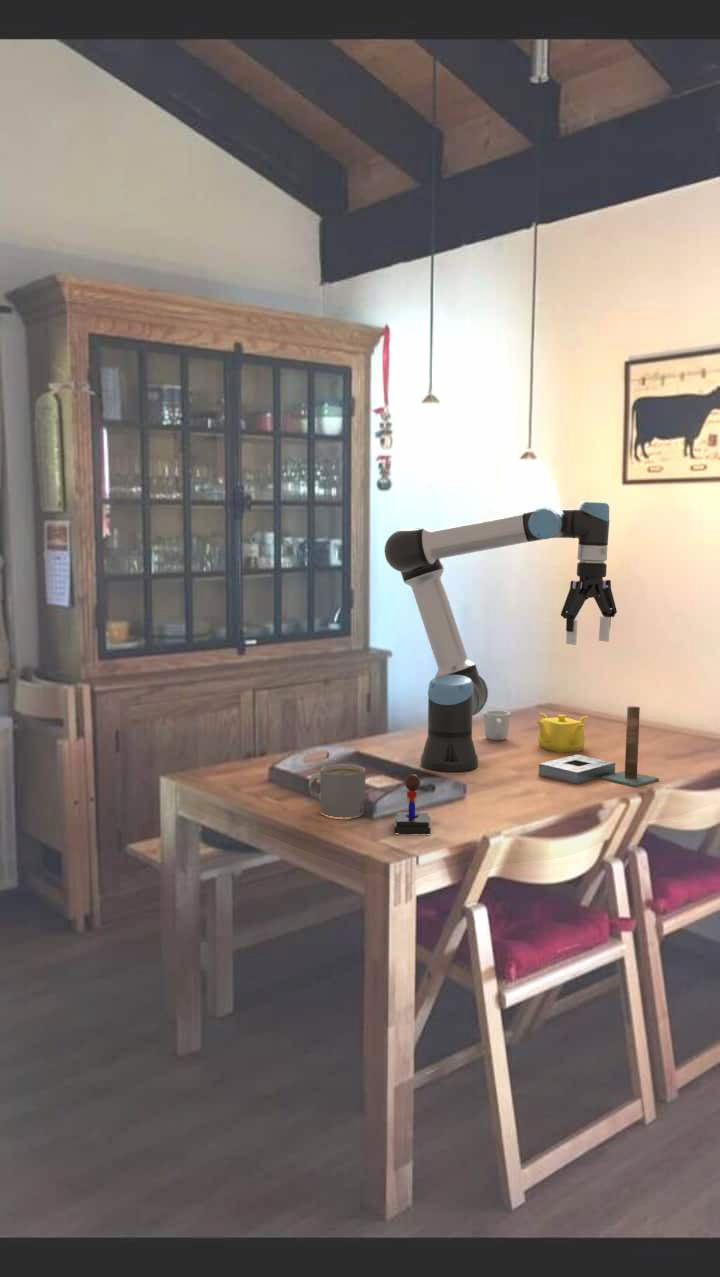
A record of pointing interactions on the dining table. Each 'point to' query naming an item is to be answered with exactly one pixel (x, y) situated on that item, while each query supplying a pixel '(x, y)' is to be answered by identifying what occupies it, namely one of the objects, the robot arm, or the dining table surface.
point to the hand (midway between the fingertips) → (587, 642)
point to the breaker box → (576, 769)
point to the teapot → (561, 733)
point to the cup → (496, 724)
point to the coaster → (637, 782)
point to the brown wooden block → (632, 742)
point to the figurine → (412, 812)
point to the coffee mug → (339, 789)
